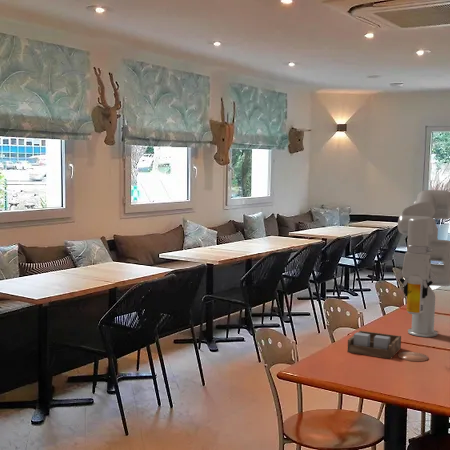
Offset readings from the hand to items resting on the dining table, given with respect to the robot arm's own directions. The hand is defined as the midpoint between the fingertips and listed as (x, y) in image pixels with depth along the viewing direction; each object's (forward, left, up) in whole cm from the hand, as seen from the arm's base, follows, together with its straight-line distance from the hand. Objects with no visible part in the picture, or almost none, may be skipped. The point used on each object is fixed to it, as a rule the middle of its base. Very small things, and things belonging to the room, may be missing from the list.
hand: (415, 296), depth 239 cm
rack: (-2, -15, -24) cm, 29 cm away
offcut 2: (+3, -11, -24) cm, 27 cm away
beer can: (0, 0, -7) cm, 7 cm away
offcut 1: (+3, -19, -24) cm, 31 cm away
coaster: (0, 0, -24) cm, 24 cm away
